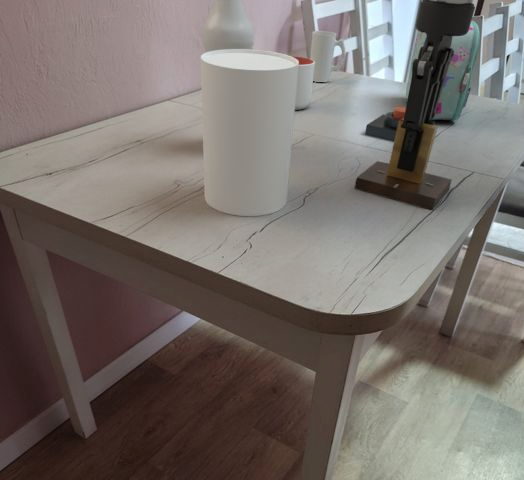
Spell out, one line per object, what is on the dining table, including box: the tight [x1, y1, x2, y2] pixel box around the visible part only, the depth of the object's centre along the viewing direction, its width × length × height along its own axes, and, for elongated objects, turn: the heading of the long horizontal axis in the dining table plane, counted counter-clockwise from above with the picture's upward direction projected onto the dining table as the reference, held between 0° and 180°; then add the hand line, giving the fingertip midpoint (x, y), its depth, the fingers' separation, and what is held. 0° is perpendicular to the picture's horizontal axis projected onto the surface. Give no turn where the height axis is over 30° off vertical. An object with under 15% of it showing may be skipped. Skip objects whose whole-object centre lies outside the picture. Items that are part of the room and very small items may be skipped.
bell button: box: [393, 106, 406, 119], centre depth 106 cm, size 4×4×2 cm
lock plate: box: [354, 160, 453, 211], centre depth 85 cm, size 14×10×2 cm
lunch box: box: [405, 20, 481, 122], centre depth 118 cm, size 27×10×21 cm, turn 179°
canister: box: [200, 49, 299, 217], centre depth 74 cm, size 14×14×20 cm
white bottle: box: [202, 0, 255, 53], centre depth 89 cm, size 9×9×28 cm
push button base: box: [364, 111, 401, 142], centre depth 108 cm, size 12×10×4 cm
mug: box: [309, 30, 346, 83], centre depth 140 cm, size 10×7×12 cm, turn 77°
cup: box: [290, 55, 315, 111], centre depth 120 cm, size 10×10×10 cm
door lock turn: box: [387, 118, 438, 184], centre depth 82 cm, size 6×2×9 cm, turn 58°
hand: (407, 167), depth 84 cm, fingers closed on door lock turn, 2 cm apart
